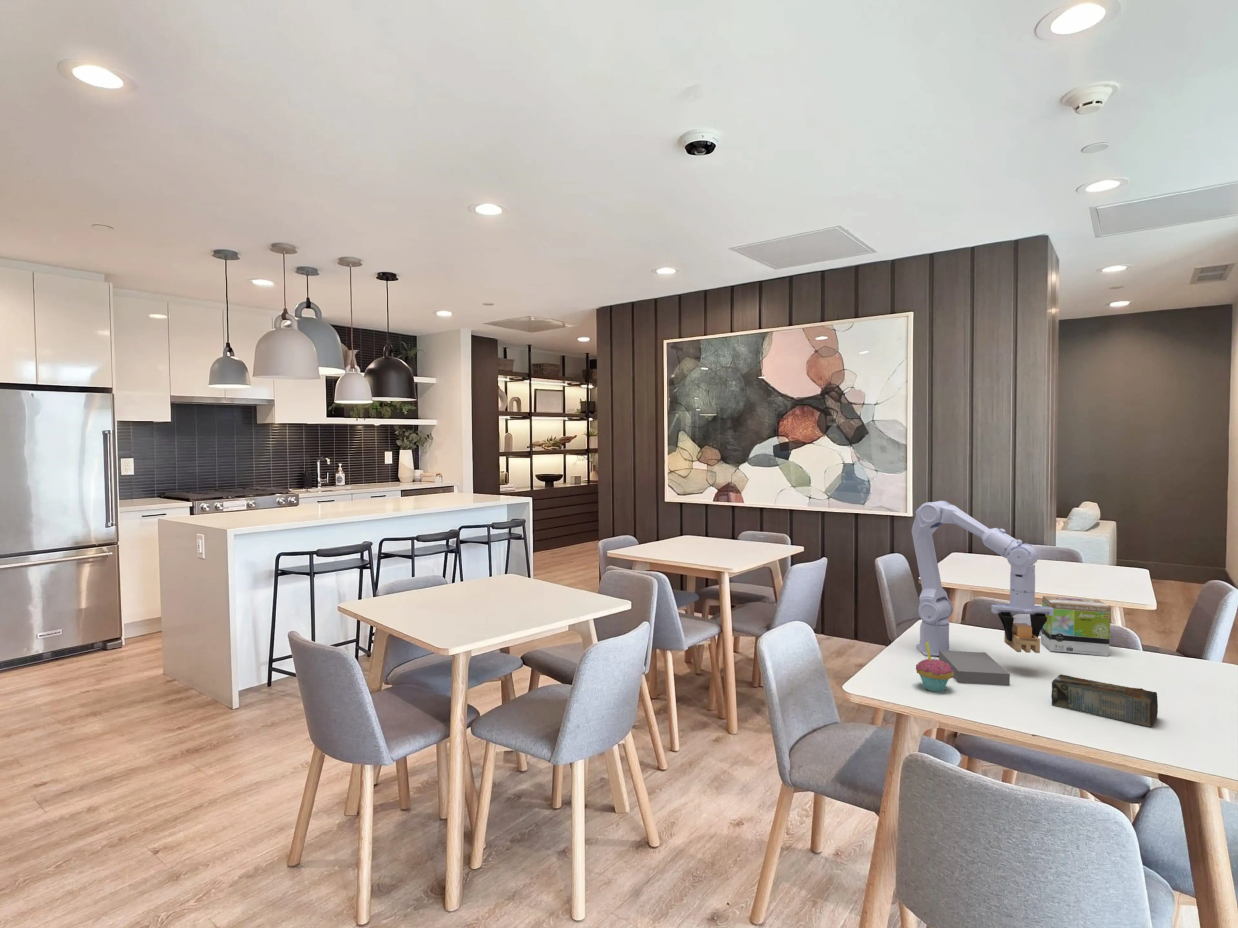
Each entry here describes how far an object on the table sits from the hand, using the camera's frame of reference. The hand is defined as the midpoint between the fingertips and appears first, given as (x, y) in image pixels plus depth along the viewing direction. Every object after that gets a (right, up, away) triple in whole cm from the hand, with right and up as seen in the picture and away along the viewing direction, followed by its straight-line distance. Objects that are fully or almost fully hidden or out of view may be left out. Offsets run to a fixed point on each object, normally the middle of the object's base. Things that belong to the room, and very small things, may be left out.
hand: (1021, 640), depth 184 cm
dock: (-13, -8, 0) cm, 16 cm away
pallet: (0, -2, 0) cm, 2 cm away
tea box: (+27, -8, +20) cm, 34 cm away
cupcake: (-29, -9, -12) cm, 32 cm away
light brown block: (0, +1, 0) cm, 1 cm away
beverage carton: (+3, -10, -27) cm, 29 cm away
